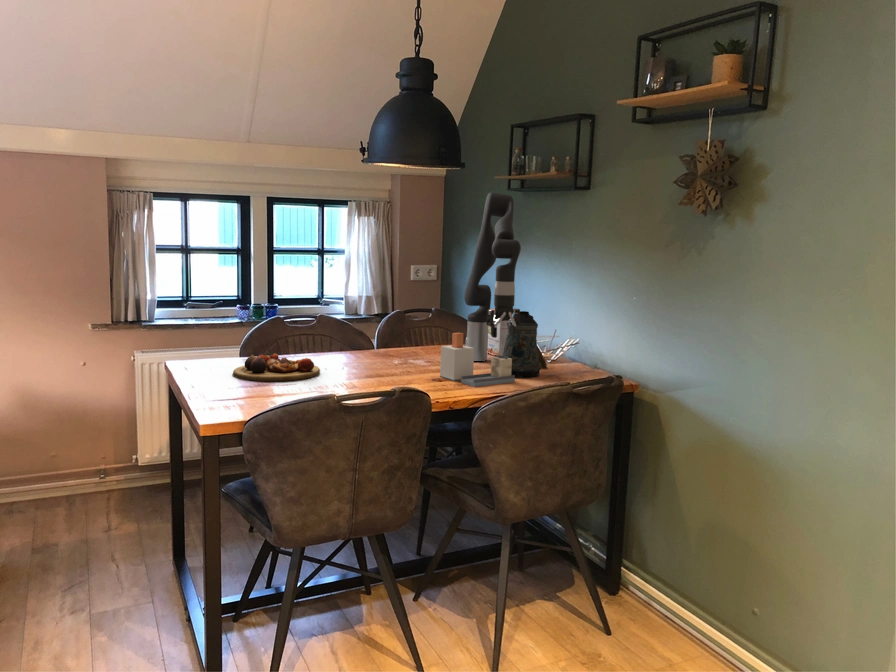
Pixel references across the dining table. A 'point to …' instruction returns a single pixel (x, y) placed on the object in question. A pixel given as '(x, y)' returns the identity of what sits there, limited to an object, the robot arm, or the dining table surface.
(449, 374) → the light grey hollow box
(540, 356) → the rock
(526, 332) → the beer stein
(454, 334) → the orange dimpled block
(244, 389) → the dining table surface
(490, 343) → the cracker box
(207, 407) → the dining table surface
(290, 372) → the wooden plate with food
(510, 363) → the carriage
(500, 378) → the rail
